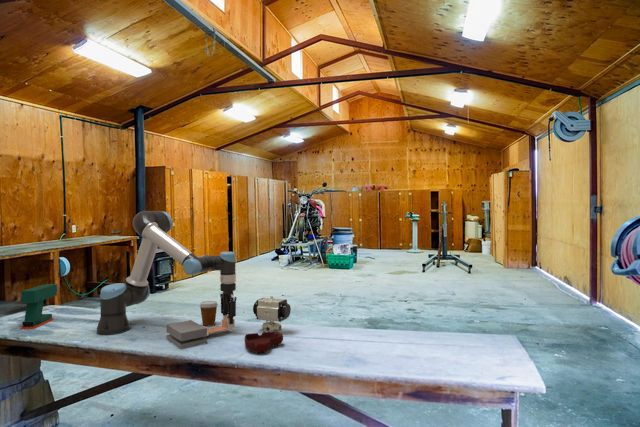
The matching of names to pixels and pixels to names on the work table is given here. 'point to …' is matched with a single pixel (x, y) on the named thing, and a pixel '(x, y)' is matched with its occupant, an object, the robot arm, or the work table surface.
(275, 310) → the ball valve
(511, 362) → the work table surface
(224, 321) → the orange stepped block
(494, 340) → the work table surface
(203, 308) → the disposable coffee cup
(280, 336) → the ashtray
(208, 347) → the work table surface
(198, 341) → the block
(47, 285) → the power tool
